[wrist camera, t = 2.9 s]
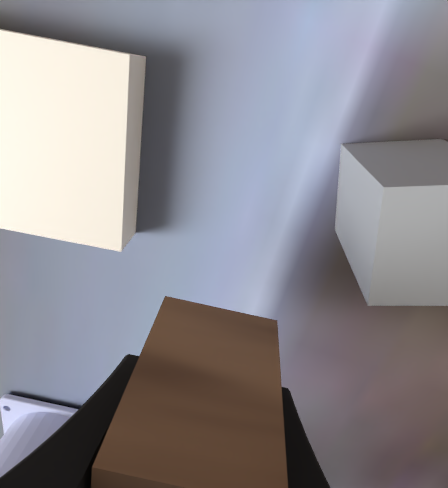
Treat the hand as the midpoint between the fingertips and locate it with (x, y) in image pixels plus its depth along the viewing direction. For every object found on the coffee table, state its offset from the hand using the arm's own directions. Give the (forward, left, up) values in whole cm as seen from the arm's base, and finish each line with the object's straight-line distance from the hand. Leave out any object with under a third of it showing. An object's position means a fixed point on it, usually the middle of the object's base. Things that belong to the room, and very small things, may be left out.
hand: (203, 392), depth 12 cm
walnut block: (0, 0, -2) cm, 2 cm away
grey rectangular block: (+6, -6, -8) cm, 11 cm away
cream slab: (+5, +9, -8) cm, 13 cm away
